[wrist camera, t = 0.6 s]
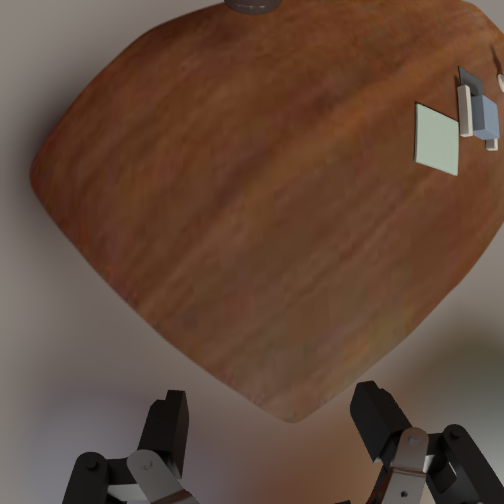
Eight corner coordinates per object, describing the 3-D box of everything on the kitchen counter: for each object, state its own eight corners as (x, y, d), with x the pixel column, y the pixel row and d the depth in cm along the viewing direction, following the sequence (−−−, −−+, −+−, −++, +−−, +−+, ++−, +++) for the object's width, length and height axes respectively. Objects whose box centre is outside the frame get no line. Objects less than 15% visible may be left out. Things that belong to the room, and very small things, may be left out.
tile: (415, 104, 35) (417, 103, 34) (456, 122, 35) (458, 122, 35) (414, 161, 37) (416, 161, 36) (454, 175, 38) (457, 175, 37)
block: (465, 98, 34) (482, 94, 30) (480, 108, 35) (496, 104, 30) (467, 131, 36) (485, 129, 31) (482, 139, 36) (499, 138, 31)
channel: (454, 64, 32) (461, 61, 30) (484, 84, 33) (491, 82, 31) (459, 134, 36) (468, 133, 33) (489, 150, 37) (497, 150, 34)
